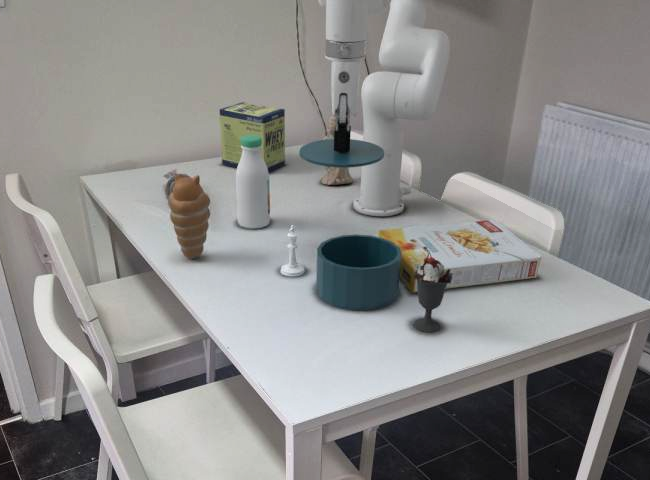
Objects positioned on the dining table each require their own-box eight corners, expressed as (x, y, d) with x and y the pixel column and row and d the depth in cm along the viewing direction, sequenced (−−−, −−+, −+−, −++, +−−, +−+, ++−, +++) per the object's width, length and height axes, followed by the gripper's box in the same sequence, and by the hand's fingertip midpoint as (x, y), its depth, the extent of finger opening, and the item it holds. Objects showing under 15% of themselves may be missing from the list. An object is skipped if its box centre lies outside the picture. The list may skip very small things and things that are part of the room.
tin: (357, 266, 150) (359, 228, 145) (415, 293, 140) (419, 253, 135) (299, 288, 142) (299, 248, 137) (356, 319, 132) (359, 277, 127)
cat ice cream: (218, 252, 156) (212, 170, 145) (206, 267, 149) (199, 182, 139) (179, 248, 157) (172, 166, 147) (166, 263, 151) (157, 178, 141)
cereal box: (377, 228, 152) (495, 215, 159) (375, 252, 155) (491, 239, 162) (415, 270, 136) (544, 254, 143) (412, 296, 140) (539, 278, 146)
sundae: (404, 317, 132) (412, 241, 124) (440, 316, 133) (450, 240, 124) (412, 335, 127) (420, 257, 118) (449, 334, 127) (460, 256, 119)
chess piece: (308, 269, 149) (309, 224, 143) (296, 278, 145) (296, 232, 140) (289, 264, 151) (289, 219, 145) (276, 272, 147) (275, 226, 142)
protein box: (265, 174, 199) (263, 116, 190) (221, 164, 206) (217, 108, 197) (286, 165, 206) (285, 108, 197) (243, 155, 213) (240, 101, 204)
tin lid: (342, 139, 156) (343, 110, 152) (401, 158, 145) (404, 127, 141) (282, 155, 146) (281, 124, 143) (340, 176, 136) (341, 143, 132)
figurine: (340, 175, 199) (343, 99, 188) (358, 183, 193) (361, 106, 182) (313, 180, 195) (314, 103, 184) (330, 189, 189) (332, 111, 178)
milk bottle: (265, 230, 166) (263, 143, 154) (233, 227, 167) (229, 141, 156) (273, 218, 172) (272, 133, 161) (242, 215, 173) (239, 131, 162)
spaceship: (170, 200, 159) (201, 183, 160) (149, 169, 189) (176, 155, 189) (186, 230, 164) (217, 214, 164) (164, 195, 193) (190, 181, 193)
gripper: (365, 58, 127) (360, 161, 138) (365, 42, 141) (360, 137, 151) (323, 57, 128) (321, 160, 138) (327, 41, 141) (325, 136, 151)
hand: (341, 147), depth 145 cm, fingers closed on tin lid, 2 cm apart
